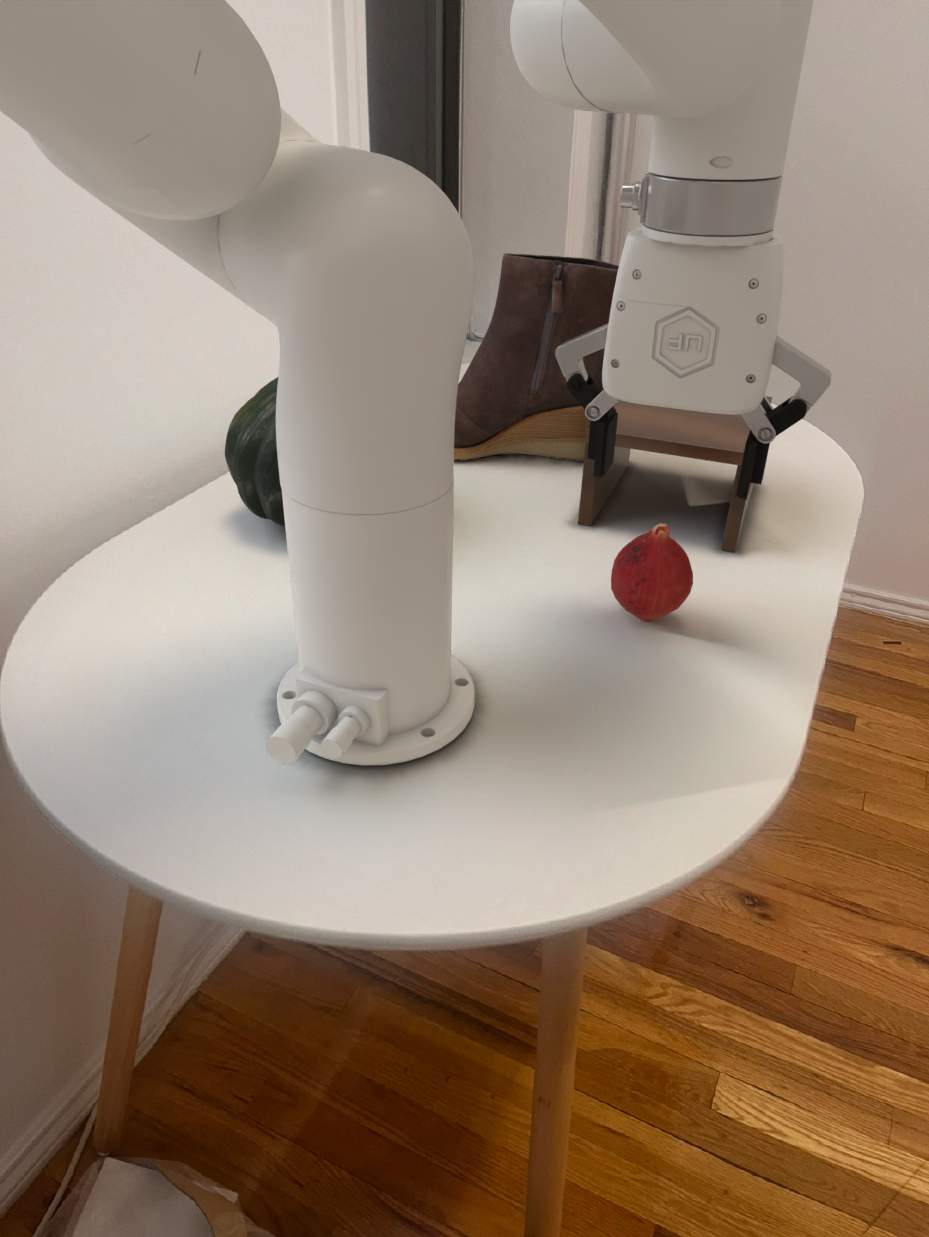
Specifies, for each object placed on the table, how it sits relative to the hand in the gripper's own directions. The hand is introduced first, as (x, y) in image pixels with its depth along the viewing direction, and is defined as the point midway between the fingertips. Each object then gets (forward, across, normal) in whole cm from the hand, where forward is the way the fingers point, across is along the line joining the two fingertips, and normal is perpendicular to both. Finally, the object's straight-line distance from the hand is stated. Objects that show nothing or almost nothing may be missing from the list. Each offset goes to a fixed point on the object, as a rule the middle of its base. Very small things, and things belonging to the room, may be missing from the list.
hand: (671, 480), depth 61 cm
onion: (+11, 0, -1) cm, 11 cm away
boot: (+12, -22, +27) cm, 37 cm away
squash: (+11, -32, +5) cm, 34 cm away
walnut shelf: (+12, -2, +21) cm, 24 cm away
